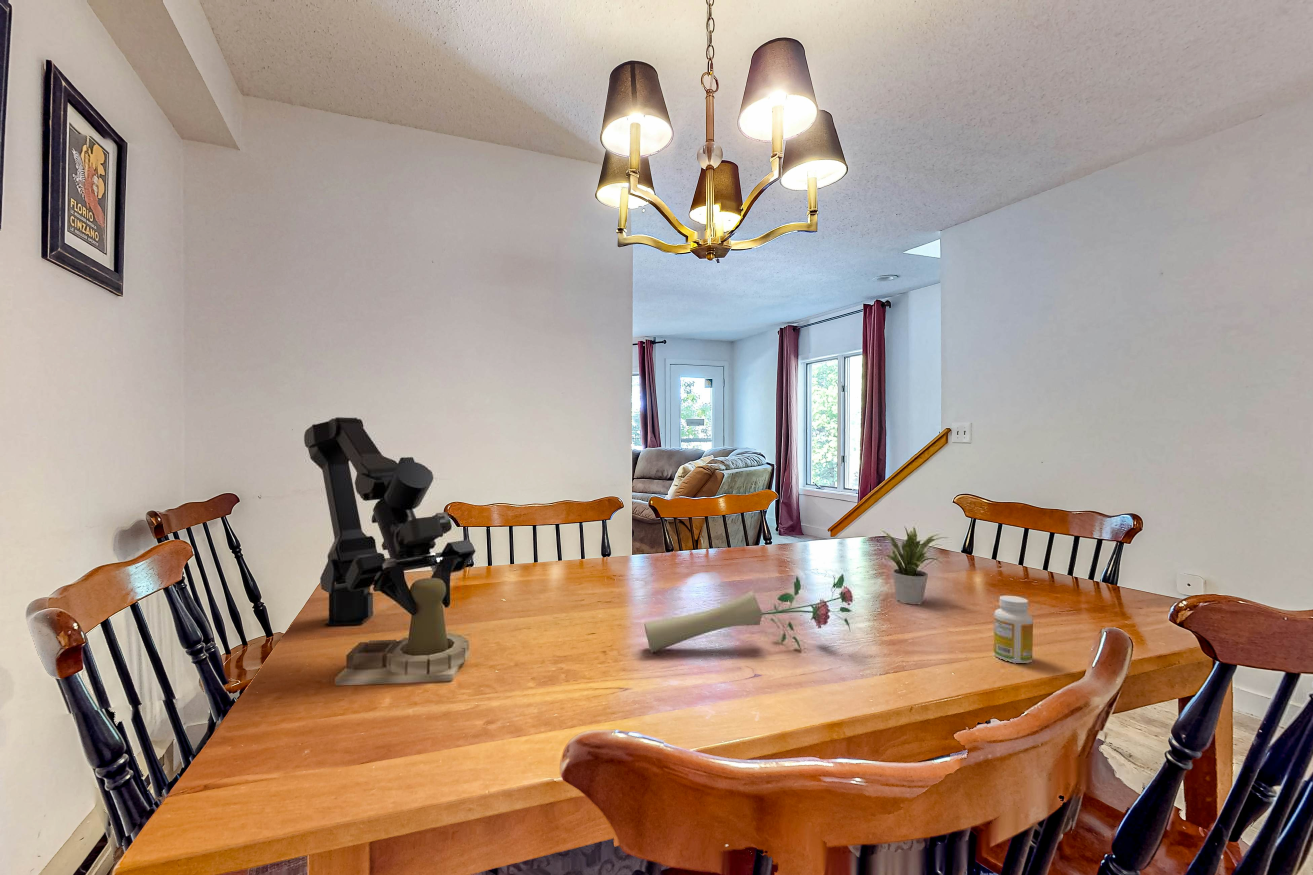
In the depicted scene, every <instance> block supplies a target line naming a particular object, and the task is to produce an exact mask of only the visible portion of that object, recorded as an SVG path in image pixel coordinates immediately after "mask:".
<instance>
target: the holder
mask: <svg viewBox="0 0 1313 875" xmlns="http://www.w3.org/2000/svg"><path fill="white" fill-rule="evenodd" d="M446 635H447V643H448V650H446V651H444V652H441V653H437V654H432V655H424V656H412V655H407V654H406V650H407V643H408V637H404V638H400V639H399V640H397V639H374V640H368V641H359V642H358V643H357V644H356V645H355V646H354V647H353V648H352V649H351V650H350V651H349V652H348V653H347V654H346V655H345V657H346V659H345V661H346V663H345V668H344V669H343V670H342V671H341V672H340V673H339V674H338V675H337V676H336V677H335V679H334V686H336V687H337V686H341V687H342V686H362V685H363V686H365V685H384V684H385V685H386V684H388V685H389V684H410V683H411V684H412V683H434V682H453V681H454V680H455V677H456V675H457V673H458V672H459V669H460V668H461V666H462V664H463V663H464V662H465V661H466V660H467V658H468V656H469V651H470V642H469V640H468V639H467V638H466V637H465V636H464V635H461V634H458V633H454V632H453V633H452V632H446Z"/></svg>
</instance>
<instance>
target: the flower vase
mask: <svg viewBox="0 0 1313 875" xmlns="http://www.w3.org/2000/svg"><path fill="white" fill-rule="evenodd" d="M837 578H838V579H837V580H836V581H835V579H836V578H835V575H833V584H832V587H831V589H830V590H831V593H832V595H831V597H833V595H834V592H836V589H842V590H841V591H840V592H838V594H839V596H838V597H835V598H831V599H829V600H824V598H822V599H821V598H820V599H819V602H817V603H811V604H806V605H801V606H796V607H795V606H794V607H792V604H793V603H794V600H795V597H796V596H799V593H800V592H799V591H801V587H802V585H801V581H800V579H799V577H798V576H795V581H794V580H793V581H794V582H793V589H794V590H793V594H792V593H790V592H785V593H782V594H780V595H779V597H777V598H776V599H777V601H780V604H779V605H778V606H777V605H776V604H773V606H774V609H770V610H767V611H763V612H762V609H761V607H760V605H759V603H758V599H757V597H756V595H755V593H754V590H750V591H748V592H747V593H745V594H743V595H741V596H740V597H738V598H737V599H734V600H733V601H730V602H729V603H725V604H722V605H720V606H717V607H714V608H710V609H707V610H703V611H699V612H694V613H690V614H685V615H682V616H681V615H680V616H675V617H674V616H673V617H668V618H664V619H658V620H652V621H646V622H644V632H645V636H646V639H647V643H648V647H649V650H650V652H651V654H653V653H656V652H658V651H661V650H664V649H666V648H669V647H671V646H675V645H676V644H679V643H682V642H684V641H687V640H689V639H693V638H695V637H699V636H701V635H705V634H708V633H711V632H714V631H715V632H716V631H718V630H722V629H725V628H730V627H731V628H732V627H740V626H742V627H744V626H745V627H746V626H747V627H748V626H760V625H761V622H762V621H761V620H762V618H765V619H766V620H767V618H766V617H765V615H772V616H774V617H775V618H777V616H776V615H777V614H785V613H786V614H788V613H810V614H812V617H811V618H810V621H812V620H813V621H814V623H815V624H816V625H815V626H816V627H817V629H822V626H826V625H827V624H828V623H829V620H830V617H831V616H830V614H829V613H831V614H833V615H835V616H836V617H838V618H839V619H840V620H843V621H844V622H845V624H846V626H848V629H849V632H850V633H851V627H850V623H849V620H848V618H845V619H844V618H841V617H840V616H838V615H837V614H835V613H838V612H841V613H851V612H852V609H850V608H848V607H846V606H840V608H839V610H837V611H833V610H830V608H829V607H830V606H829V605H828V603H829V602H832V601H836V600H841V604H842V603H845V604H847V606H850V605H851V603H853V602H854V600H853V597H854V595H853V593H852V591H851V589H850V588H849V587H847V586H845V585H844V582H845V576H844V573H842V574H841V575H840V576H839V577H837ZM842 587H843V588H842ZM833 589H834V590H833ZM788 602H789V604H790V606H789V607H788V608H785V609H781V610H779V608H780V606H781V604H782V603H788ZM777 607H778V608H777ZM808 607H811V608H812V610H802V608H808ZM797 609H798V610H797ZM799 609H801V610H799ZM774 610H775V611H774ZM775 614H776V615H775ZM777 619H778V621H779V622H780V623H781V625H782V631H783V633H782V636H781V640H780V643H781V642H782V643H784V642H785V641H786V638H787V635H790V634H789V632H788V630H787V629H786V627H785V626H788V628H789V629H790V631H793V632H795V629H794V626H793V623H792V622H791V621H788V624H786V623H782V621H781V620H780V619H779V618H777ZM768 620H769V621H771V622H773V624H775V625H776V626H777V628H778V629H780V626H779V624H777V622H776V621H775V619H774V618H773V617H771V618H770V619H769V618H768ZM786 633H787V635H786ZM791 638H792V639H793V640H794V642H796V644H797V647H798V648H800V649H799V650H801V651H802V648H801V645H800V642H799V639H798V638H797V637H796V636H791Z"/></svg>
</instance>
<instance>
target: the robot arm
mask: <svg viewBox="0 0 1313 875" xmlns="http://www.w3.org/2000/svg"><path fill="white" fill-rule="evenodd" d="M303 442H304V446H305V447H306V448H307V451H308V454H309V458H310V460H311V461H312V462H313V463H314V464H315V465H316V466H318V468H319V469H321V471H322V476H323V483H324V488H325V492H326V499H327V504H328V510H329V516H330V521H331V528H332V533H333V538H334V541H333V543H332V545H331V547H330V548H329V551H328V554H327V562H326V564H325V567H324V569H323V571H322V573H321V576H320V578H319V579H320V587H321V590H322V591H323V592H325V593H328V619H327V620H326V621H325V622H324V626H347V625H348V626H349V625H362V624H364V622H366V621H367V620H368V619H369V618H370V617H371V616H373V615H374V593H373V592H377V593H378V592H380V593H381V594H384V596H386V597H388V598H389V599H391V600H392V601H394V602H395V603H397V604H398V605H399V606H400V607H401V608H402V609H404V610H405V611H406V612H407V613H408V614H409V615H411V616H414V615H416V613H417V609H416V605H415V602H414V599H413V597H412V594H411V592H410V587H409V585H408V583H407V580H406V578H405V572H406V571H412V570H418V569H424V568H430V569H431V571H432V574H431V577H430V578H437V579H440V580H442V581H443V582H444V583H445V586H446V593H445V596H444V598H443V599H442V604H443V607H444V608H445V609H448V608H449V607H450V605H451V575H452V574H453V573H454V574H455V573H458V572H462V571H463V570H465V569H466V567H467V565H468V564H469V563H470V561H471V559H472V557H474V555H475V553H476V552H477V551H476V549H475V547H474V544H473V543H472V541H471V540H467V539H464V540H457V541H450V542H447V543H446V545H445V546H444V548H443V549H442V551H439V552H432V553H431V550H432V549H435V547H436V546H437V544H436V540H437V539H439V538H443V537H444V535H445V534H447V533H449V532H450V531H452V527H453V526H452V521H451V519H450V516H449V515H448V513H447V512H446V511H444V512H435V514H434V515H432V516H425V517H417V516H416V514H415V511H414V510H415V509H417V508H418V507H419V506H420V505H421V503H422V502H423V499H424V498H425V496H426V494H427V492H428V491H429V489H430V487H431V485H432V483H433V481H434V474H433V472H432V470H431V469H429V468H428V467H427V466H425V465H424V464H422V463H420V462H417V461H415V459H414V457H412V456H408V457H404V456H403V457H400V458H399V461H398V462H397V460H394V459H392V458H390V457H386V456H384V455H383V454H382V452H381V451H380V450H379V448H378V447H377V446H376V444H375V443H374V441H373V440H372V438H371V436H370V435H369V434H368V432H367V431H366V429H365V428H364V423H363V419H361V418H357V417H341V416H340V417H334V418H330V419H329V420H328V421H323V422H319V423H313V424H312V425H311V426H310V427H308V428H307V429H306V430H305V431H304V436H303ZM350 464H352V467H353V468H354V470H355V472H356V476H355V478H354V479H355V480H354V481H353V478H352V472H351V468H350ZM353 482H354V484H353ZM355 491H356V492H355ZM356 493H357V494H358V495H359V496H360V499H362V501H365V502H369V501H370V502H371V501H377V502H376V503H375V505H374V506H373V509H372V511H373V513H372V515H371V523H372V524H377V526H378V528H379V531H380V533H381V534H380V535H381V536H382V539H383V541H382V543H381V548H382V550H383V551H387V554H388V556H389V557H385V554H384V553H382V552H378V549H377V546H376V545H377V544H376V543H377V542H376V539H375V537H374V536H373V535H367V534H365V533H364V532H363V529H362V525H361V524H362V523H361V518H360V514H359V513H360V512H359V509H358V504H357V498H356ZM371 586H373V587H372V590H373V592H371Z"/></svg>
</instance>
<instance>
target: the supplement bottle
mask: <svg viewBox="0 0 1313 875" xmlns="http://www.w3.org/2000/svg"><path fill="white" fill-rule="evenodd" d="M998 602H999V603H998V604H999V607H1000V608H997V609H996V610H995V611H994V614H993V615H994V616H993V620H994V621H993V625H994V626H993V655H994V657H996V658H997V657H998V658H997V659H999V658H1000V659H999V660H1001V659H1003V660H1005V661H1004V662H1006V661H1009V662H1008V663H1010V662H1013V663H1012V664H1016V663H1027V664H1030V663H1032V662H1033V643H1034V642H1033V640H1034V637H1033V636H1034V634H1033V633H1034V619H1033V618H1034V617H1033V616H1032V615H1031V613H1029V612H1027V611H1028V610H1029V600H1028V599H1026V598H1024V597H1021V596H1016V595H1015V596H1014V595H1001V596H999V601H998ZM1003 660H1002V661H1003ZM1029 662H1030V663H1029Z"/></svg>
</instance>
